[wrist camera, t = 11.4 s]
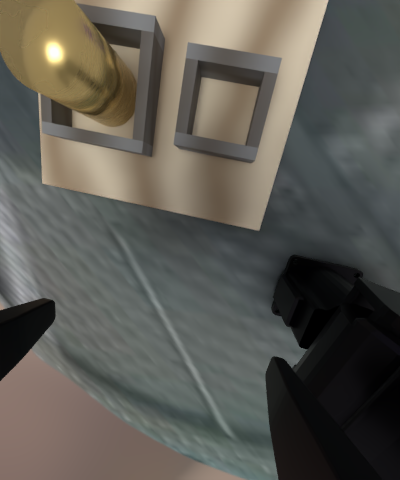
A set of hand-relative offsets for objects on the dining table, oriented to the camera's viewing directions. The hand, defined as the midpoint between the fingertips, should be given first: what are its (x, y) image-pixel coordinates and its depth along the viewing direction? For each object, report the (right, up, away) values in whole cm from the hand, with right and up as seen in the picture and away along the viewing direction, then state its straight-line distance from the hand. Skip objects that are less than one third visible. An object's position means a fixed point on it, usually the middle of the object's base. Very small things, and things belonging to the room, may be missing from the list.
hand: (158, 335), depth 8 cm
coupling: (-5, +15, +7) cm, 18 cm away
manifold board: (-1, +15, +8) cm, 17 cm away
